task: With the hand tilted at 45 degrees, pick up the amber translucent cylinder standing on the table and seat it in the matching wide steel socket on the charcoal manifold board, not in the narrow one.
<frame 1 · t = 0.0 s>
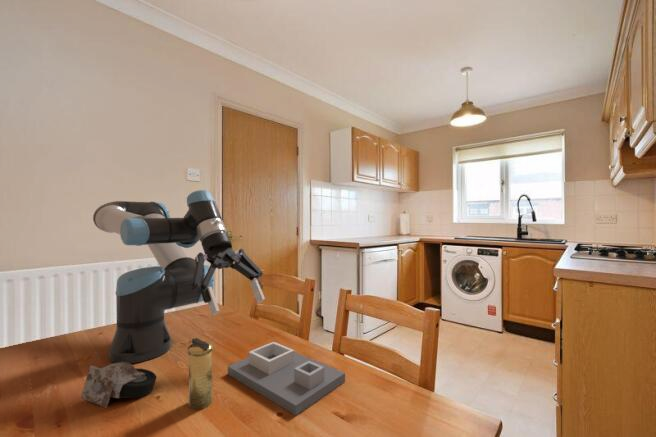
hand: (240, 307, 79), 15 cm above the table, tool tilted 35°, fingers open, 13 cm apart
manifold board: (285, 377, 73), on the table
amber translucent cylinder: (200, 403, 63), on the table
caster wheel: (124, 394, 67), on the table
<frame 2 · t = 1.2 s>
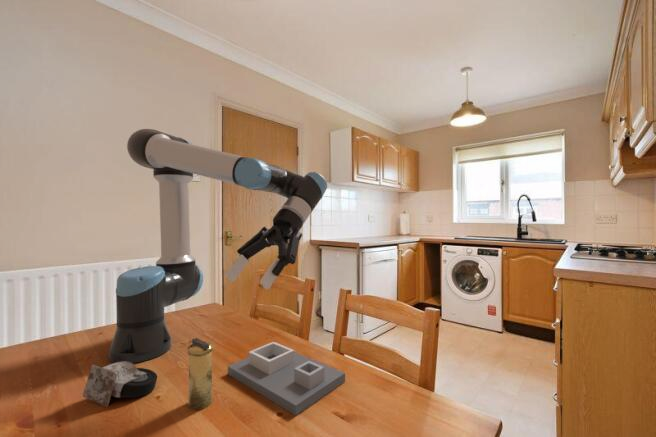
hand: (245, 282, 71), 23 cm above the table, tool tilted 45°, fingers open, 13 cm apart
nothing on the table moved.
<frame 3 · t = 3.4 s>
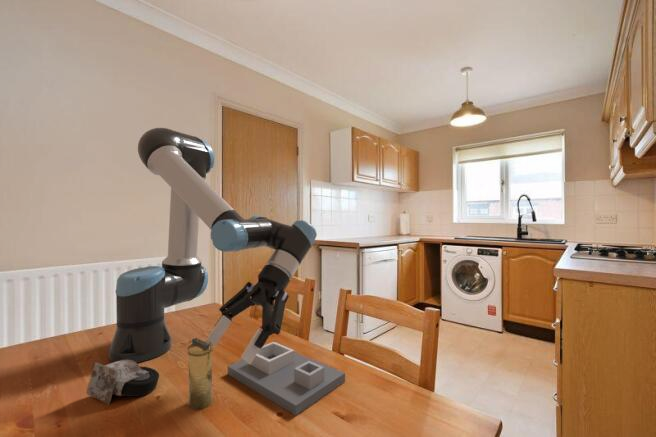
hand: (226, 351, 66), 9 cm above the table, tool tilted 45°, fingers open, 13 cm apart
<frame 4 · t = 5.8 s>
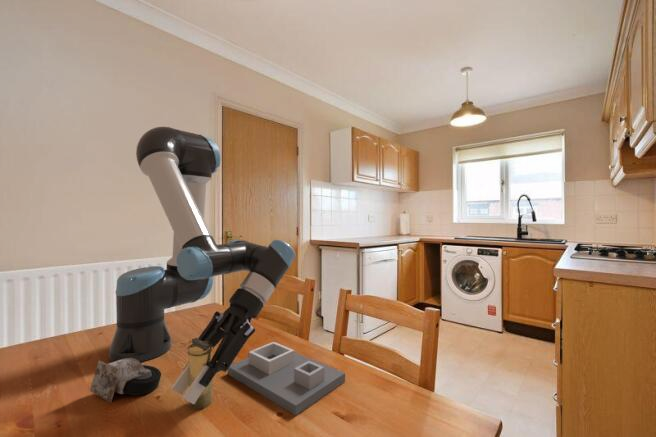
hand: (182, 395, 60), 3 cm above the table, tool tilted 45°, fingers closed on amber translucent cylinder, 4 cm apart
amber translucent cylinder: (200, 403, 63), on the table, touching gripper
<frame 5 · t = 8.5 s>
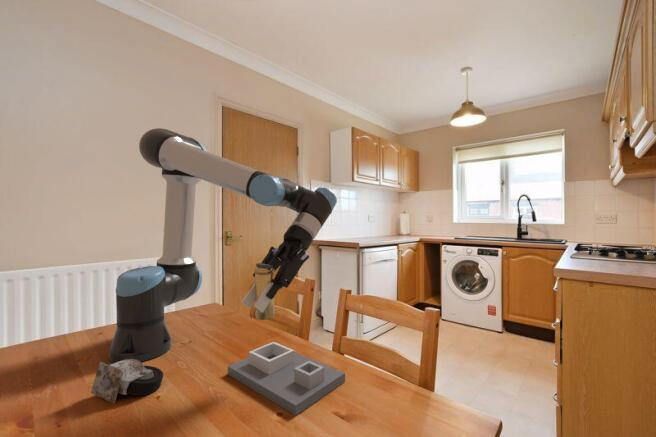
hand: (251, 307, 71), 18 cm above the table, tool tilted 45°, fingers closed on amber translucent cylinder, 4 cm apart
amber translucent cylinder: (264, 316, 74), point 14 cm above the table, touching gripper
when the fingers open (7 cm above the table, at t = 11.5 s): amber translucent cylinder drops 1 cm, resting on manifold board.
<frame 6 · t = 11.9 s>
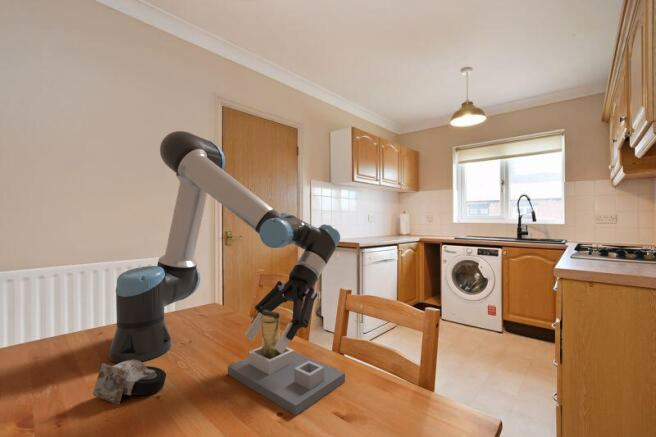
hand: (262, 344, 74), 8 cm above the table, tool tilted 45°, fingers open, 11 cm apart
amber translucent cylinder: (271, 362, 76), point 2 cm above the table, touching manifold board
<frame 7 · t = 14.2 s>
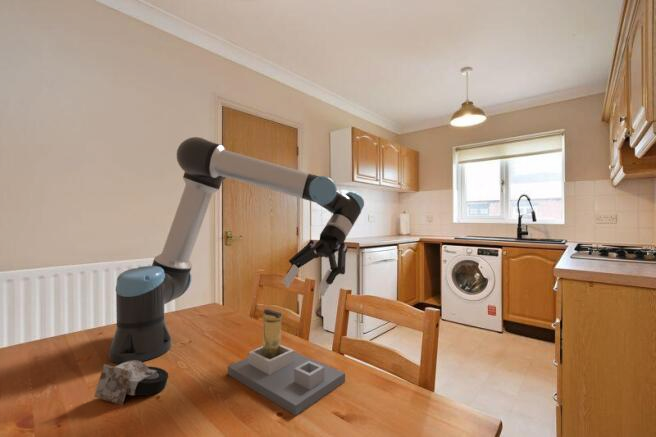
hand: (301, 288, 84), 19 cm above the table, tool tilted 45°, fingers open, 13 cm apart
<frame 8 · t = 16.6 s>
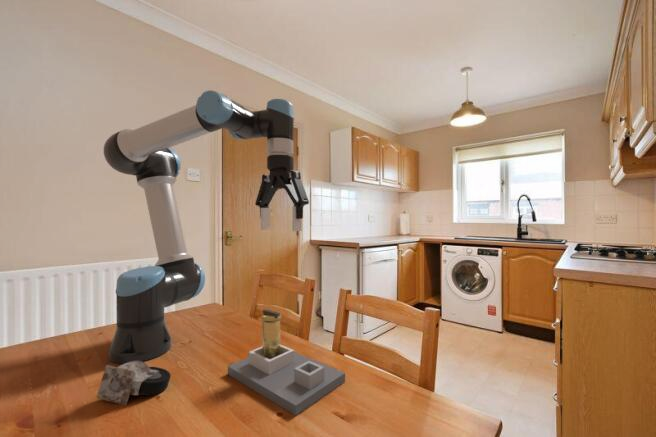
hand: (280, 230, 87), 35 cm above the table, tool pointing down, fingers open, 13 cm apart
at the end: amber translucent cylinder 0.1 cm from the target spot on the manifold board, point 2.0 cm above the manifold board's base; amber translucent cylinder tilted 1°; the gripper is holding nothing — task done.
